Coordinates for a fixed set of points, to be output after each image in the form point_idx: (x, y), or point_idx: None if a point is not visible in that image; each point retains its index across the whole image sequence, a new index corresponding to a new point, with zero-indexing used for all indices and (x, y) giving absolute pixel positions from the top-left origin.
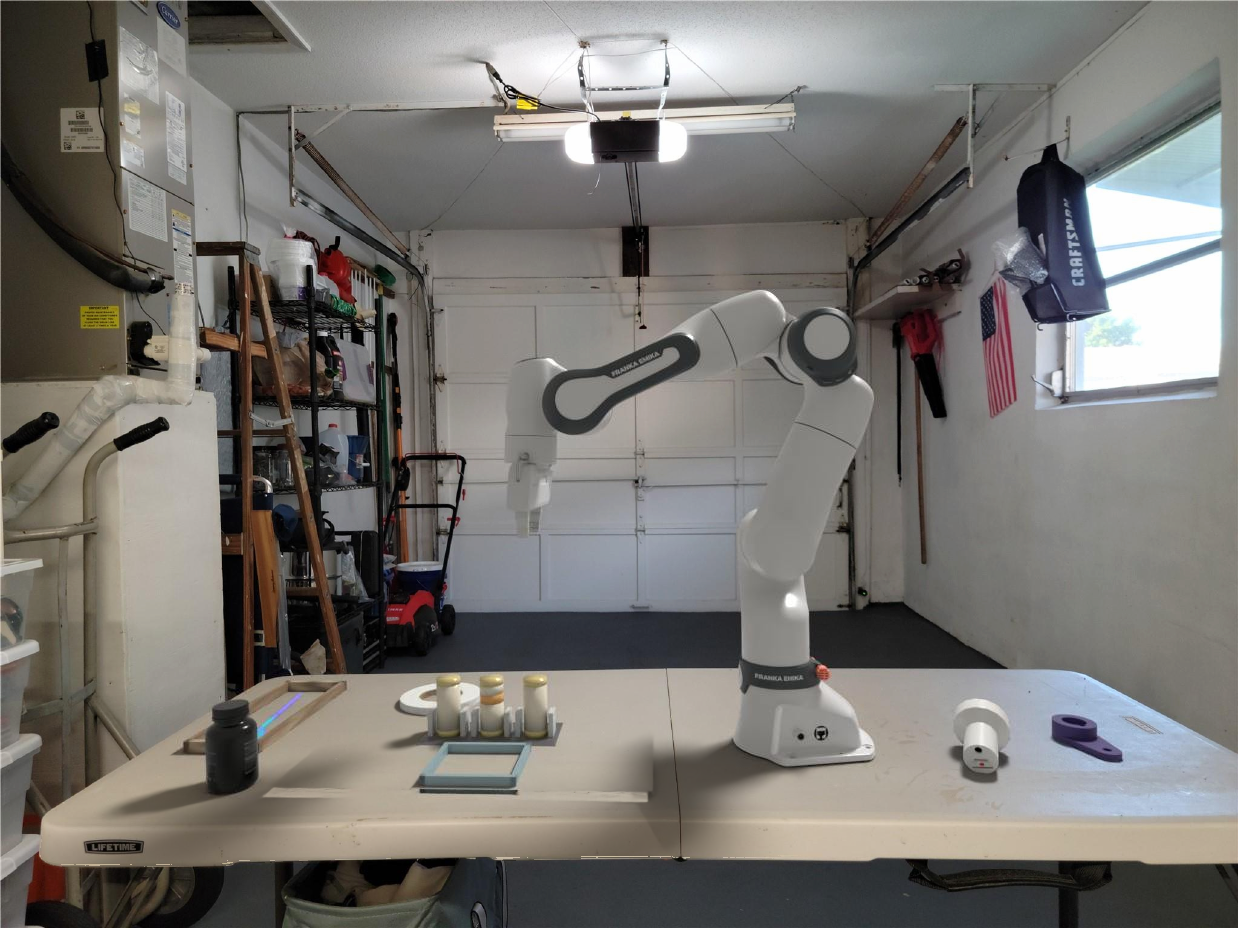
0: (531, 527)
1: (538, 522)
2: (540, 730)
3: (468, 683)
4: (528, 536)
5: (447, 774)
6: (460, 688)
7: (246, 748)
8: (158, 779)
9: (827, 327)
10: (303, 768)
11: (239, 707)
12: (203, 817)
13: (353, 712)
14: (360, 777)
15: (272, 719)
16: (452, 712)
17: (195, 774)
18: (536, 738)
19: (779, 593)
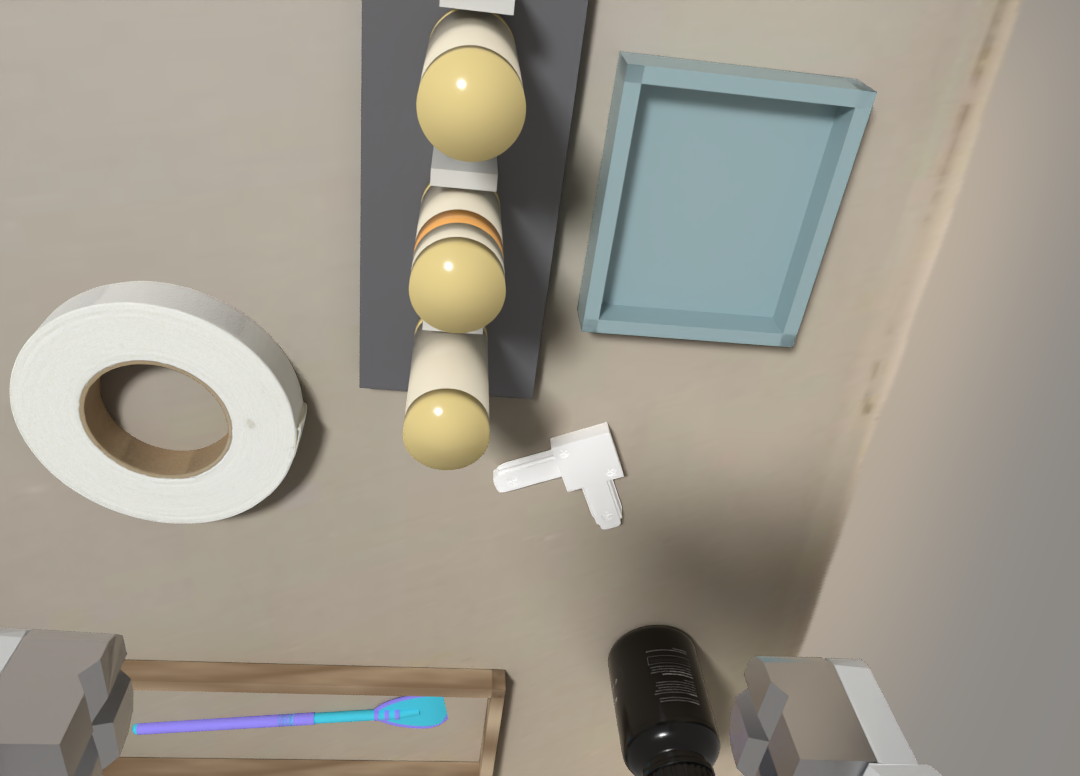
0: (100, 743)
1: (42, 745)
2: (511, 35)
3: (18, 360)
4: (776, 658)
5: (804, 283)
6: (81, 376)
7: (694, 693)
8: (606, 749)
9: None
10: (595, 576)
11: None
12: (774, 639)
13: (248, 592)
14: (662, 464)
15: (321, 716)
16: (482, 356)
17: (594, 715)
18: (518, 45)
19: None
